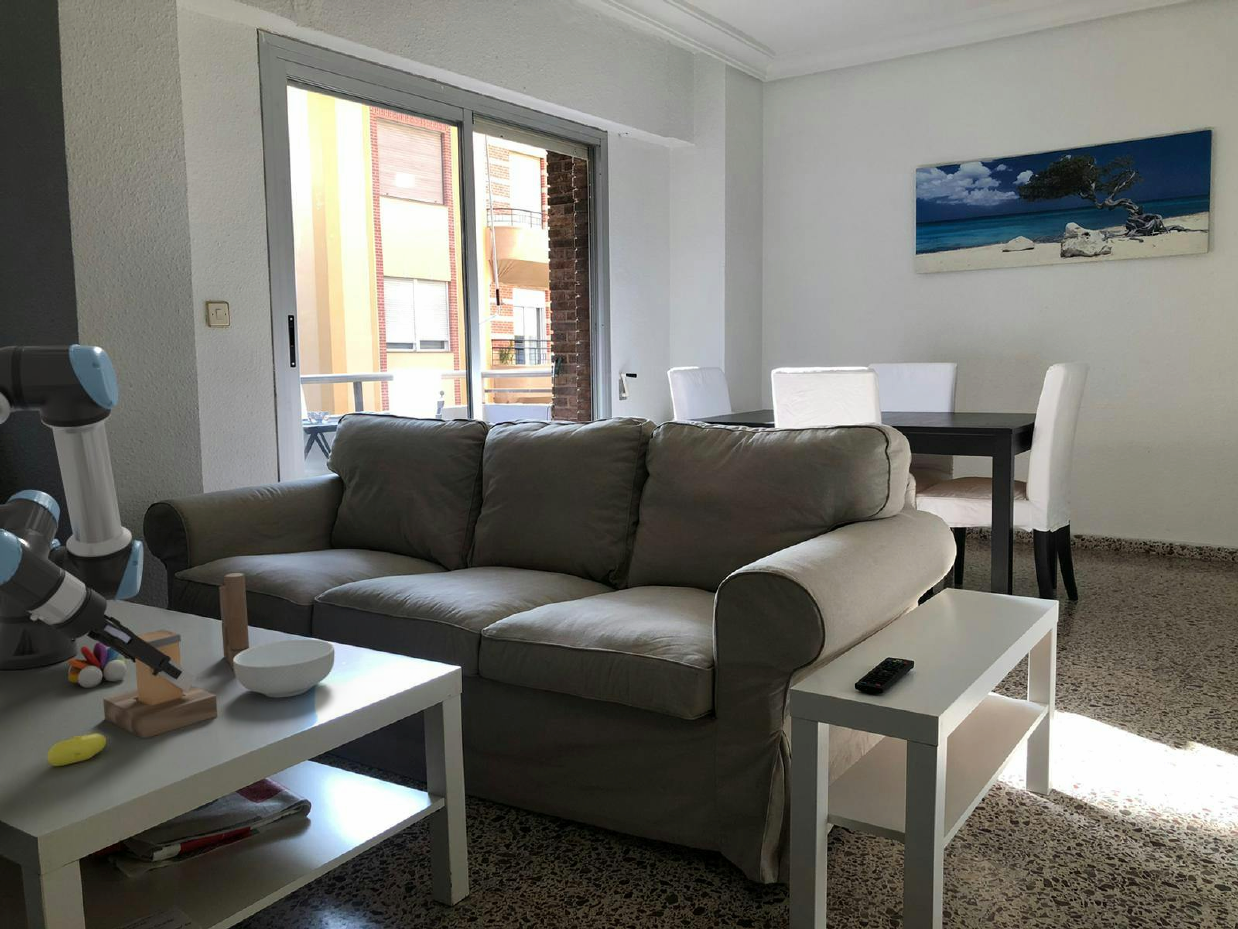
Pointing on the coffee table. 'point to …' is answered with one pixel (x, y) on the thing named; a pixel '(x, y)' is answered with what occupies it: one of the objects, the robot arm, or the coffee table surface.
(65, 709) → the coffee table surface
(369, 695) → the coffee table surface
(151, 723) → the header block
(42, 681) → the coffee table surface
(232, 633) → the wooden v-shaped piece
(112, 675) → the rainbow petal toy
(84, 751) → the yellow oblong piece
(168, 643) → the plug
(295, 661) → the cereal bowl
